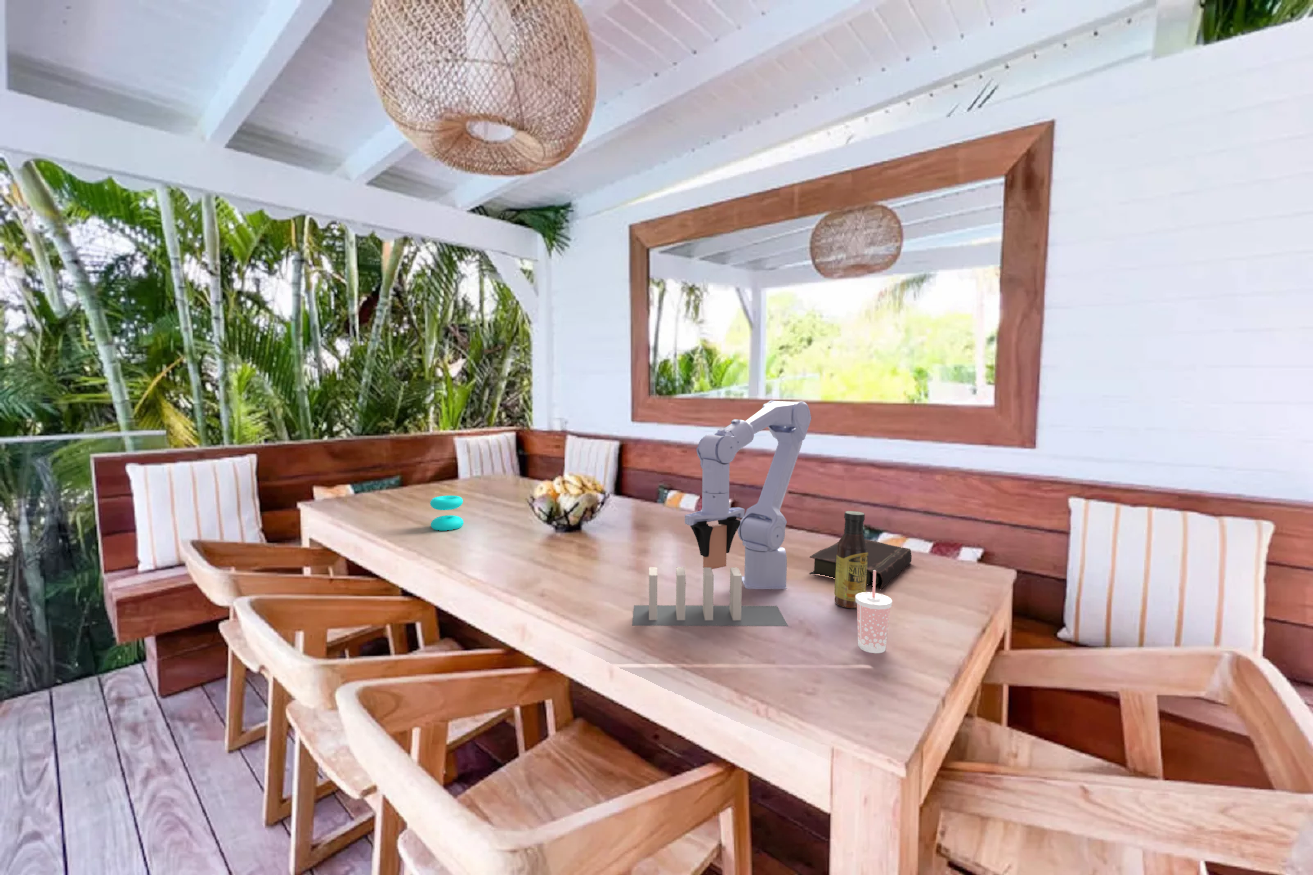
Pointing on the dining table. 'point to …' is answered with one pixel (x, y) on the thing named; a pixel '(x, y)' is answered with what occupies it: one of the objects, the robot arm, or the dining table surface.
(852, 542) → the sauce bottle
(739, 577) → the domino
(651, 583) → the domino
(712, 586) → the domino
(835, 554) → the diary
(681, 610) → the domino
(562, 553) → the dining table surface
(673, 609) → the slate mat
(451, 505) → the donuts
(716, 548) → the terracotta domino
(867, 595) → the beverage cup
